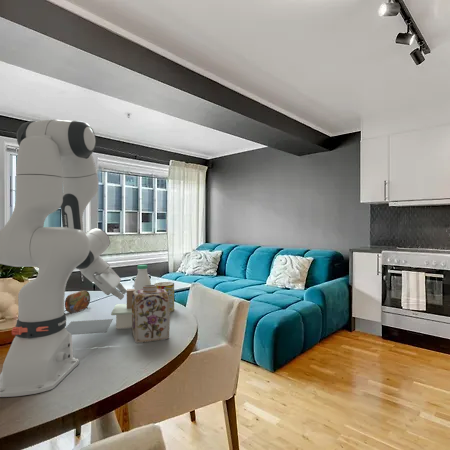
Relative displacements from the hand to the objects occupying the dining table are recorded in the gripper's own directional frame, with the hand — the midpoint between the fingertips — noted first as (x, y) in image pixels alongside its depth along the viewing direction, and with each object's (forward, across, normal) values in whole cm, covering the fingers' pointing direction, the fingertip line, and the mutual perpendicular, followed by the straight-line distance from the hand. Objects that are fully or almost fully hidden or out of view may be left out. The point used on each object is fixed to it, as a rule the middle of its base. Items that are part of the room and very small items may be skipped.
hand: (124, 295), depth 125 cm
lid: (+6, 0, +2) cm, 6 cm away
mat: (-1, 0, +18) cm, 18 cm away
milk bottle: (+12, +26, +5) cm, 29 cm away
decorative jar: (+16, -14, +1) cm, 21 cm away
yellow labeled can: (+19, +19, -2) cm, 27 cm away
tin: (-8, +27, +25) cm, 38 cm away
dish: (+10, 0, +6) cm, 12 cm away
